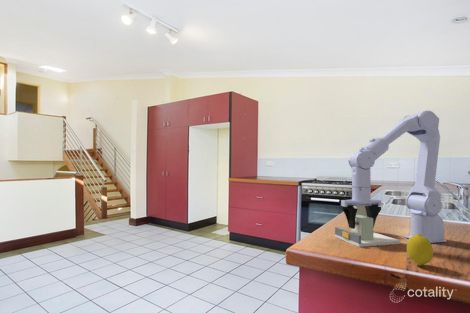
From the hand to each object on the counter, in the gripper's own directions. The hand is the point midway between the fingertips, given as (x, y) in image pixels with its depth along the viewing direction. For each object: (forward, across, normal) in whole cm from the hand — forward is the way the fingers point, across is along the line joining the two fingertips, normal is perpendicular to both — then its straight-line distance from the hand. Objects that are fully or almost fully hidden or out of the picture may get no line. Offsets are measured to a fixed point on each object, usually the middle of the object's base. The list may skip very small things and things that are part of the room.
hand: (361, 227), depth 91 cm
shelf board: (+4, -2, 0) cm, 5 cm away
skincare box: (+5, -9, -11) cm, 15 cm away
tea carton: (+3, 0, 0) cm, 3 cm away
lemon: (+5, +2, +23) cm, 24 cm away
